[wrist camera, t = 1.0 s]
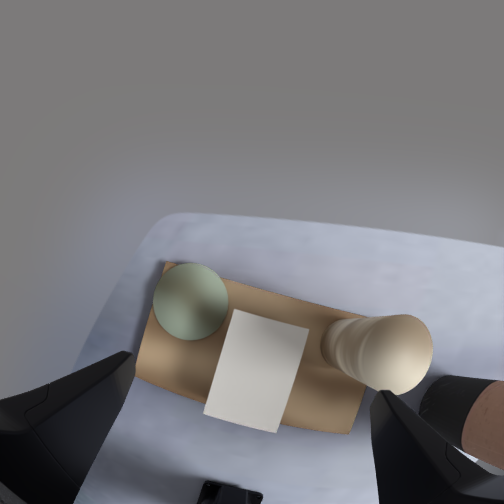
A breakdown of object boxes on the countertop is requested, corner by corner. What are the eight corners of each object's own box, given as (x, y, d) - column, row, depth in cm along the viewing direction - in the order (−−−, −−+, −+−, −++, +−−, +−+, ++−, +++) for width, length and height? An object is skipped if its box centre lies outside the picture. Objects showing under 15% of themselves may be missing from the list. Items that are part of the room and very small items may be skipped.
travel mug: (469, 371, 23) (596, 380, 4) (454, 428, 22) (567, 468, 2) (425, 373, 24) (573, 395, 4) (409, 435, 22) (529, 502, 3)
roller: (360, 372, 23) (420, 397, 13) (314, 363, 24) (353, 390, 13) (373, 324, 24) (439, 322, 14) (327, 313, 25) (376, 306, 14)
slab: (273, 417, 22) (276, 433, 19) (210, 400, 23) (203, 413, 19) (301, 328, 24) (309, 329, 21) (237, 310, 25) (234, 308, 21)
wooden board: (345, 430, 23) (349, 435, 21) (137, 373, 25) (131, 375, 23) (380, 315, 26) (386, 314, 24) (171, 257, 28) (166, 254, 26)
